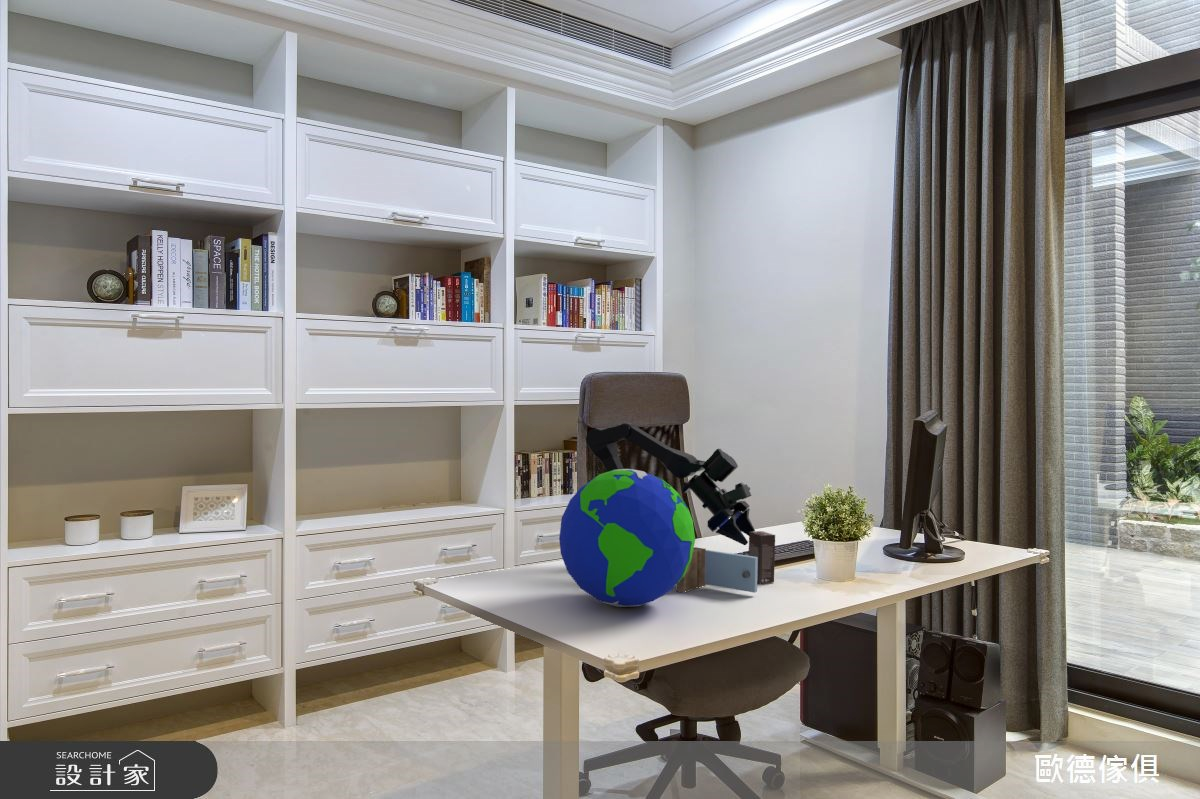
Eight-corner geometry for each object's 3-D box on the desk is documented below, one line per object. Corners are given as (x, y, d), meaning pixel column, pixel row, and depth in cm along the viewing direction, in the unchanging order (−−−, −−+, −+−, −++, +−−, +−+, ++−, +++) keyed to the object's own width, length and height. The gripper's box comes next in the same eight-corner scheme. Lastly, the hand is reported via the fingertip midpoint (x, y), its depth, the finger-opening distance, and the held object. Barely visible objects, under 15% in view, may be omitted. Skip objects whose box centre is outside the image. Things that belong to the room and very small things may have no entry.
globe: (545, 620, 168) (547, 474, 168) (570, 585, 198) (572, 460, 197) (692, 628, 164) (694, 478, 164) (695, 591, 194) (697, 464, 193)
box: (775, 583, 203) (776, 534, 203) (759, 584, 201) (760, 535, 201) (762, 577, 209) (763, 530, 208) (746, 579, 207) (747, 531, 207)
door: (702, 585, 196) (702, 551, 196) (707, 583, 198) (707, 549, 198) (752, 593, 188) (753, 558, 188) (757, 591, 190) (757, 557, 190)
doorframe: (685, 593, 192) (686, 554, 192) (674, 591, 194) (675, 552, 194) (731, 576, 210) (732, 541, 209) (721, 574, 211) (721, 539, 211)
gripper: (720, 476, 200) (764, 525, 195) (741, 469, 216) (783, 514, 212) (689, 506, 203) (732, 555, 199) (713, 497, 220) (753, 542, 215)
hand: (751, 540), depth 206 cm, fingers open, 9 cm apart
